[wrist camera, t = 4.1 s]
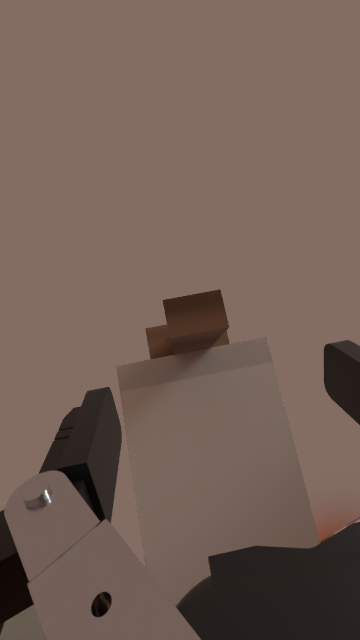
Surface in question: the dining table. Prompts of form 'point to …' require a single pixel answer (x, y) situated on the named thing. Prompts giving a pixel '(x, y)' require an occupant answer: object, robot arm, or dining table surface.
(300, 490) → the cream stand
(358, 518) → the dining table surface
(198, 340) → the walnut paddle
